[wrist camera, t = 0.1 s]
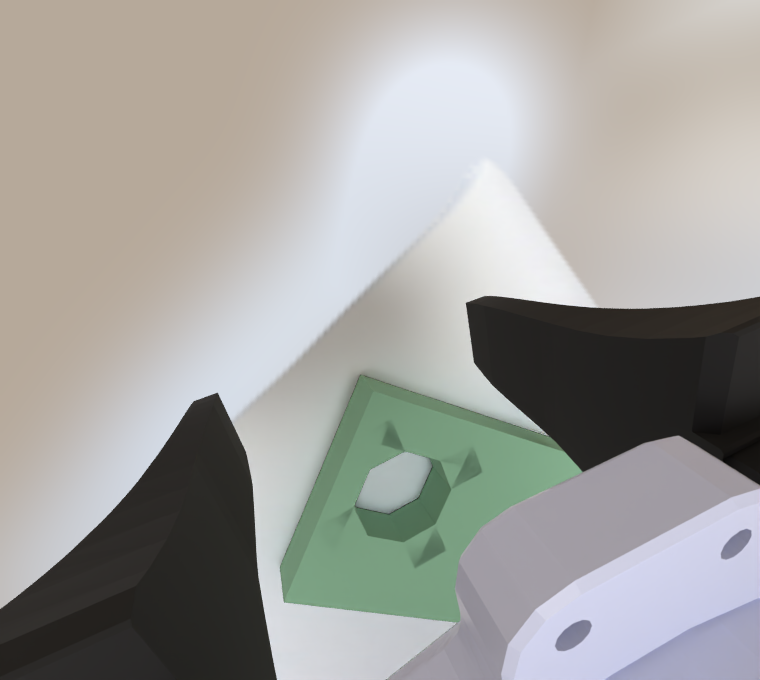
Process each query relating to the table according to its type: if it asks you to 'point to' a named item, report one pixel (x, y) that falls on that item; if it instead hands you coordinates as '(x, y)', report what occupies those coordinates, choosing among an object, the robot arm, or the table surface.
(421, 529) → the green
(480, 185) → the table surface
